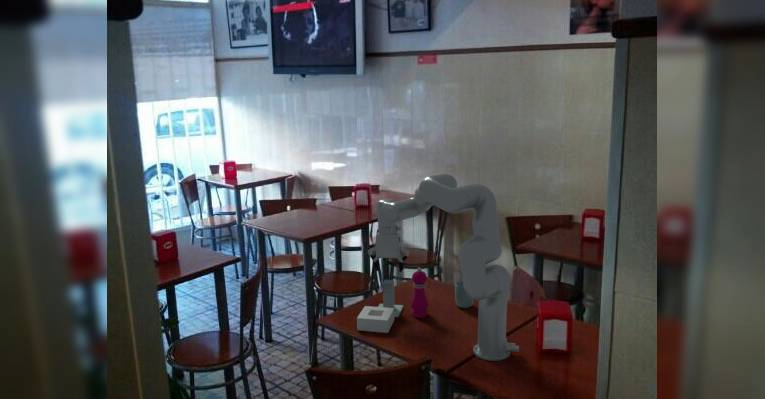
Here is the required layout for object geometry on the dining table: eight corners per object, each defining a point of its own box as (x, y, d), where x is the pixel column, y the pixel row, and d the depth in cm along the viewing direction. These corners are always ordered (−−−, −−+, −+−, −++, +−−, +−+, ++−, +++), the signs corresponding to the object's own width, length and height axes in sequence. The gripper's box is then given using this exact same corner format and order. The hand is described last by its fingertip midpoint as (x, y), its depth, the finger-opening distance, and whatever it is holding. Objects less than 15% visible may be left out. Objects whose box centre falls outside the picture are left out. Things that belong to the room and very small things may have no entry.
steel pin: (394, 307, 240) (394, 280, 237) (392, 311, 236) (392, 283, 234) (385, 306, 241) (384, 279, 238) (383, 310, 237) (382, 282, 234)
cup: (451, 304, 244) (451, 282, 242) (467, 301, 248) (467, 279, 245) (461, 311, 237) (461, 288, 235) (477, 307, 241) (477, 285, 239)
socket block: (394, 319, 230) (394, 308, 229) (387, 332, 219) (387, 320, 218) (365, 317, 233) (364, 306, 232) (357, 330, 221) (356, 318, 220)
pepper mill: (428, 311, 238) (428, 264, 234) (428, 318, 231) (428, 270, 227) (411, 310, 239) (410, 264, 235) (410, 318, 232) (409, 270, 228)
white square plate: (403, 307, 242) (403, 305, 242) (398, 317, 233) (398, 314, 233) (379, 305, 245) (379, 303, 244) (374, 315, 235) (374, 312, 235)
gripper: (410, 227, 233) (411, 268, 236) (369, 227, 237) (370, 267, 240) (407, 232, 226) (408, 274, 229) (364, 231, 230) (366, 273, 233)
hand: (389, 270), depth 235 cm, fingers open, 9 cm apart
